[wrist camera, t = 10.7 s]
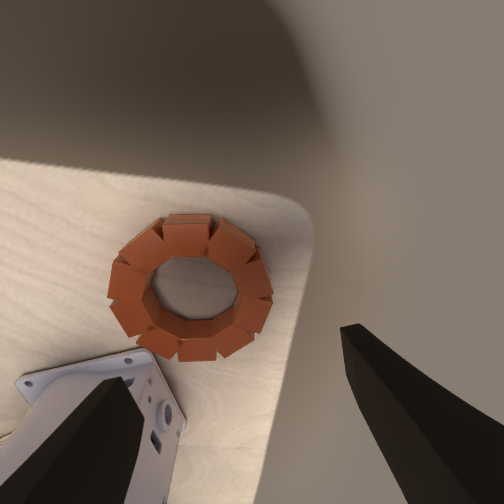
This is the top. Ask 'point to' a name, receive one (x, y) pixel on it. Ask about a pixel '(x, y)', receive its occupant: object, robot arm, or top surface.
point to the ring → (170, 325)
